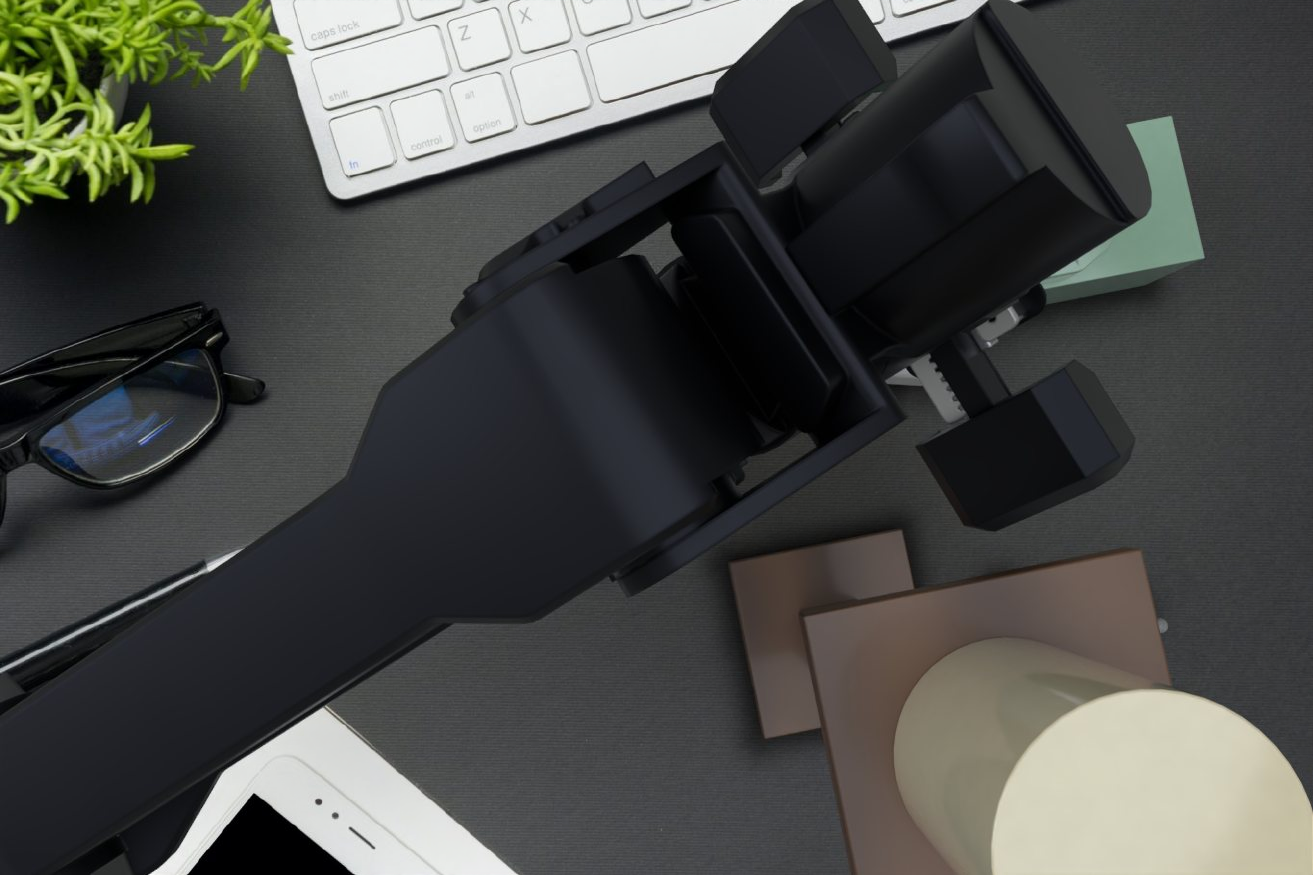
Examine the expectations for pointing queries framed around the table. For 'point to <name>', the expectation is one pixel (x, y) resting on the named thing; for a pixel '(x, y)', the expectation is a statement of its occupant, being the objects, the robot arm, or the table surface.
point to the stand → (911, 656)
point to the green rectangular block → (1141, 228)
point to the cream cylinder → (1090, 772)
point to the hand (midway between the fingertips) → (998, 227)
